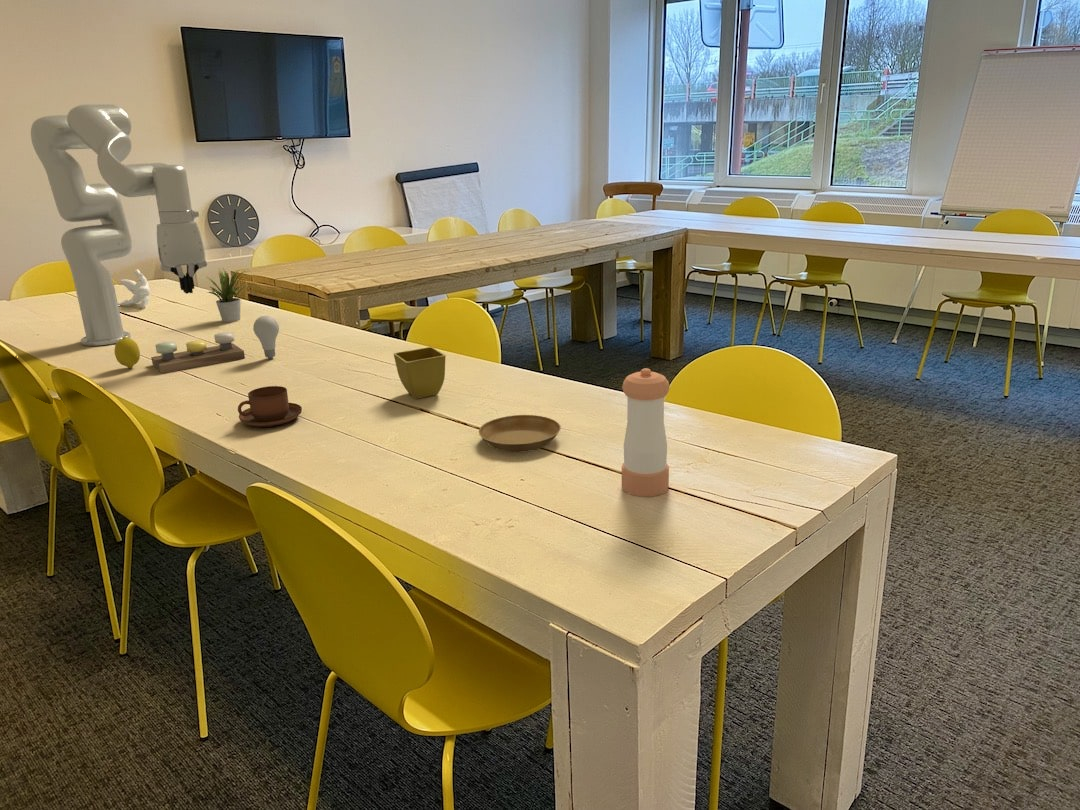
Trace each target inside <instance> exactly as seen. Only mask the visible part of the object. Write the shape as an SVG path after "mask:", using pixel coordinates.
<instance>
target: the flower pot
mask: <svg viewBox="0 0 1080 810" xmlns="http://www.w3.org/2000/svg"><path fill="white" fill-rule="evenodd" d="M446 356H447V355H446V354H444V353H443V352H441V351H439V350H438V349H436V348H435V347H432V346H427V347H421V348H416V349H412V350H411V349H410V350H405V351H399V352H398V351H397V352H394V353H393V358H394V362H395V366H396V369H397V375H398V377H399V380H400V382H401V384H402V386H403V387H404V389H405V390H406V391H407V393H408V394H410V395H411V397H413V399H421V398H425V397H426V398H427V397H431V396H436V395H438V394H439V393H440V391H441V389H442V387H443V385H444V382H445V374H446Z"/></svg>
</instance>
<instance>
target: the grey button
mask: <svg viewBox="0 0 1080 810" xmlns="http://www.w3.org/2000/svg"><path fill="white" fill-rule="evenodd" d="M213 336H214V342H215V343H216V344H218V346H219V345H220V350H221V351H225V350H231V349H232V344H231V343H234V342H235V336H234V332H231V331H230V332H228V331H226V332H225V331H223V332H220V333H219V332H218V333H216V334H214V335H213Z"/></svg>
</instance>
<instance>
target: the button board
mask: <svg viewBox="0 0 1080 810" xmlns="http://www.w3.org/2000/svg"><path fill="white" fill-rule="evenodd" d="M231 344H232V349H231V350H225V351H221V350H220V345H219V344H218V345H213V346H208V347H207V346H206V347H207V349H206V350H204V354H202V355H197V356H192V353H191V352H188V351H187V350H184V351H181V352H180V351H178V352H173V353H174V360H168V361H162V355H161V354H160V355H156V356H151V357H150V358H151V363H152V365H153V366H152V367H154V368H155V369H156V370H157V371H158V372H159V373H160V374H166V373H172V372H176V371H183V370H188V369H193V368H198V367H204V366H210V365H214V364H221V363H226V362H232V361H237V360H241V359H246V357H245V351H244V350H243V349H242V348H240V346H237V345H236V344H234V342H231Z"/></svg>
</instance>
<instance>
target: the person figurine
mask: <svg viewBox="0 0 1080 810" xmlns="http://www.w3.org/2000/svg"><path fill="white" fill-rule="evenodd" d="M134 274H135V276H136V277H137V278H138V279H139V280H138V281H135V280H131V279H120V284H121V285H122V286H124V287H125V289H127V290H128V291H129V292H131V294H133V296H132V297H131V299H125V300H124V301H121V302H118V305H122V306H125V307H129V306H134V305H136V304H139V303H140V305H139V308H140V309H141V308H144V309H146V308H145V307H146V306H147V305H148V303H149V301H150V293H151V290H150V284H149V283H148V279H147V278H146V276H145V275H144V274H143V273H142V272H141V271H140V269H138V268H136V269H135V270H134Z"/></svg>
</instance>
